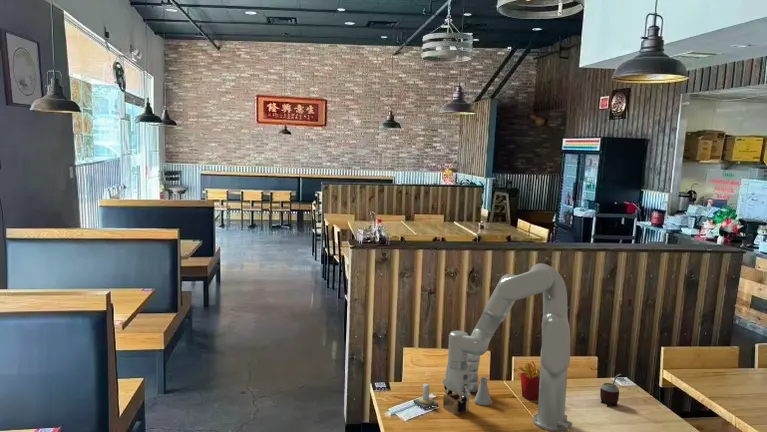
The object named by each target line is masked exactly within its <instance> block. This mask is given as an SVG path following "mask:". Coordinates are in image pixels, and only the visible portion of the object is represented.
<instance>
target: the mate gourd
mask: <svg viewBox="0 0 767 432" xmlns="http://www.w3.org/2000/svg"><path fill="white" fill-rule="evenodd" d="M621 375H622V373H618V374H616V375H615V376H614V378H613V382H611V383H610V382H604V383H603V384H602V385H601V387H600V391H599V395H600V396H599V397H600V403H601V404H604V405H606V408H610V406H613V407H618V402H619V399H620V390H619V386H617V384H615V382H616V381H617V379H618V377H619V376H621Z"/></svg>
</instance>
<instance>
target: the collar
mask: <svg viewBox="0 0 767 432" xmlns="http://www.w3.org/2000/svg"><path fill="white" fill-rule="evenodd" d="M463 398H464V396H463V395H462V399H463ZM459 402H460V399H459V395H458V394H456V393H454V392H453V393H451V394H444V395H443V401H442V408H443V409H444V410H446V411H447V412H449V413H451V414H452V415H454V416H456V415H459V414H463V413H466V412H469V409H470V399H469V400H468V401H467V402H466V411H464V412H461V413H460V412H459Z"/></svg>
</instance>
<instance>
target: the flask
mask: <svg viewBox="0 0 767 432" xmlns="http://www.w3.org/2000/svg"><path fill="white" fill-rule="evenodd" d="M479 380H480V382H479V387H478V390H477V391H476V392H477V393H476V395H475V398H474V399H473V402H474V403H475V404H476V405H480V406H491V405H492V403H493V401H492V397H491V395H490V393H489V389H488V387H489V386H488V381H489V378H488V377H485V376H482V377H481V376H480V378H479Z"/></svg>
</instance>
